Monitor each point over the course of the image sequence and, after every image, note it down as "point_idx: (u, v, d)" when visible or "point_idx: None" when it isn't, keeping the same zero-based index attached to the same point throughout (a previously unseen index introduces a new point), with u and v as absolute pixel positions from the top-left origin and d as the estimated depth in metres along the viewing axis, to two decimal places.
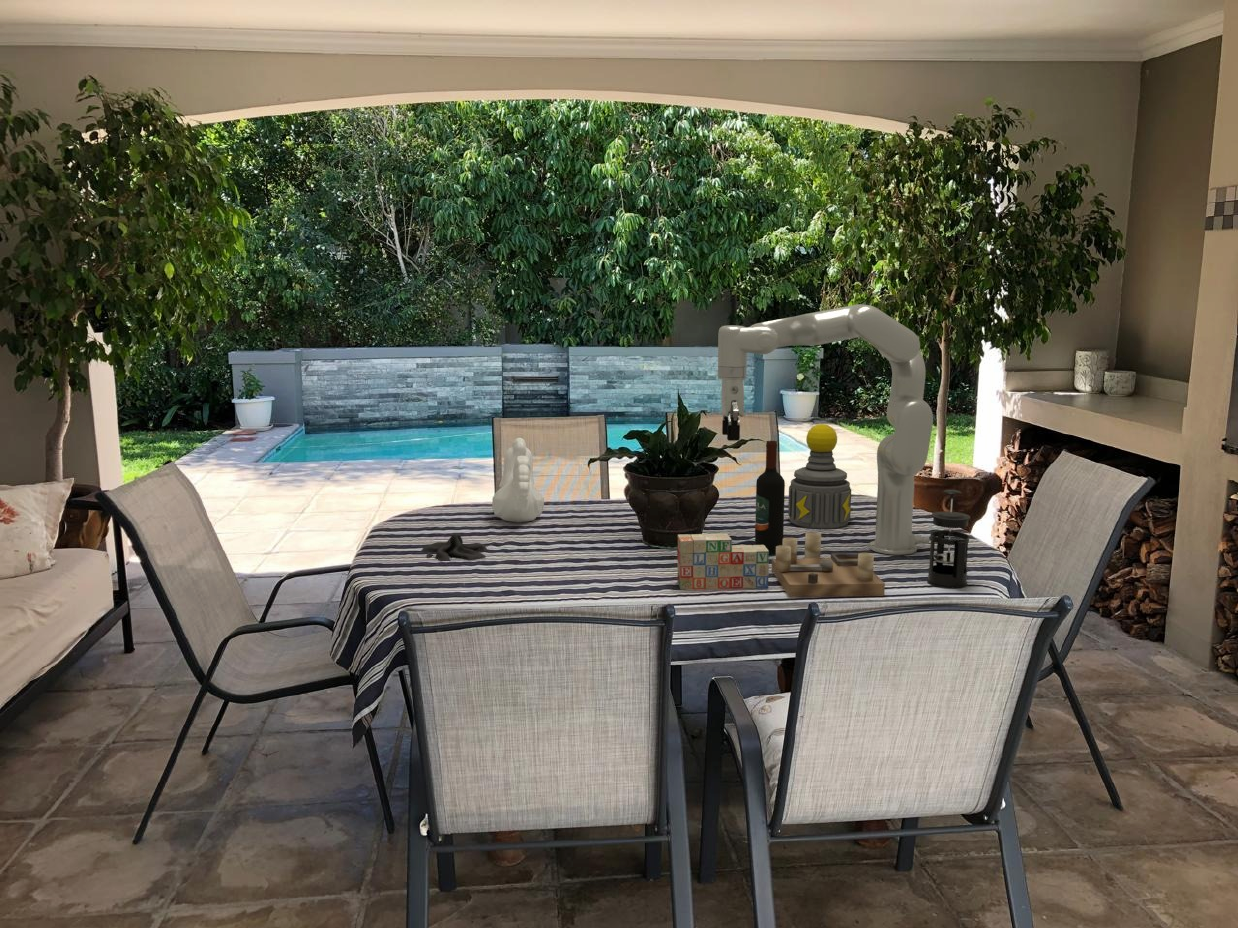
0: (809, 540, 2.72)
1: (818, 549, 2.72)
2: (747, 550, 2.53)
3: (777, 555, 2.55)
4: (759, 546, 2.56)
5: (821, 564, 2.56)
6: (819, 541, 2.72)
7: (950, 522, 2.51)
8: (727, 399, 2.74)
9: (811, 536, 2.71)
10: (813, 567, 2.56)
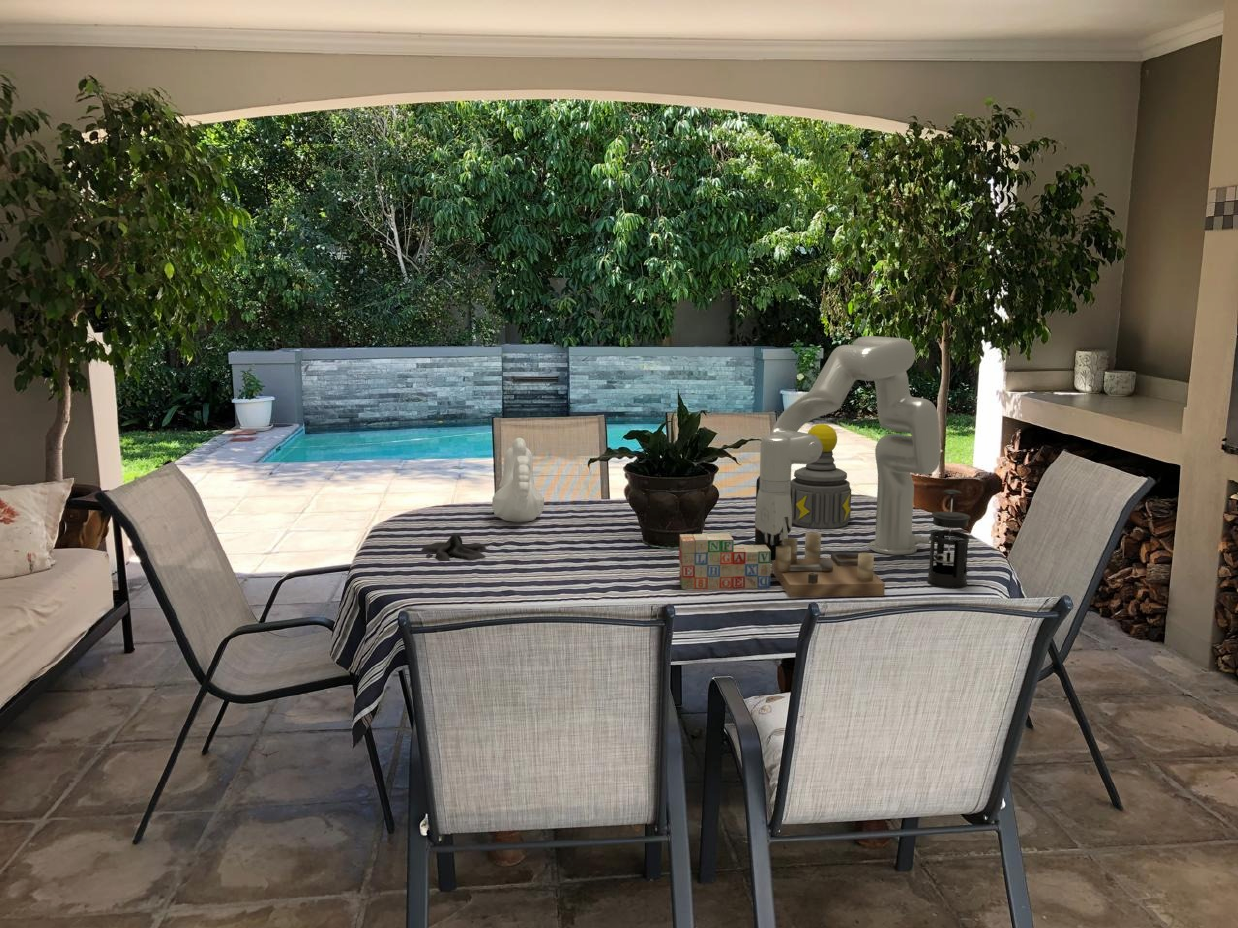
0: (809, 540, 2.72)
1: (818, 549, 2.72)
2: (749, 550, 2.53)
3: (777, 555, 2.55)
4: (761, 546, 2.56)
5: (821, 564, 2.56)
6: (819, 541, 2.72)
7: (950, 522, 2.51)
8: None
9: (811, 536, 2.71)
10: (813, 567, 2.56)
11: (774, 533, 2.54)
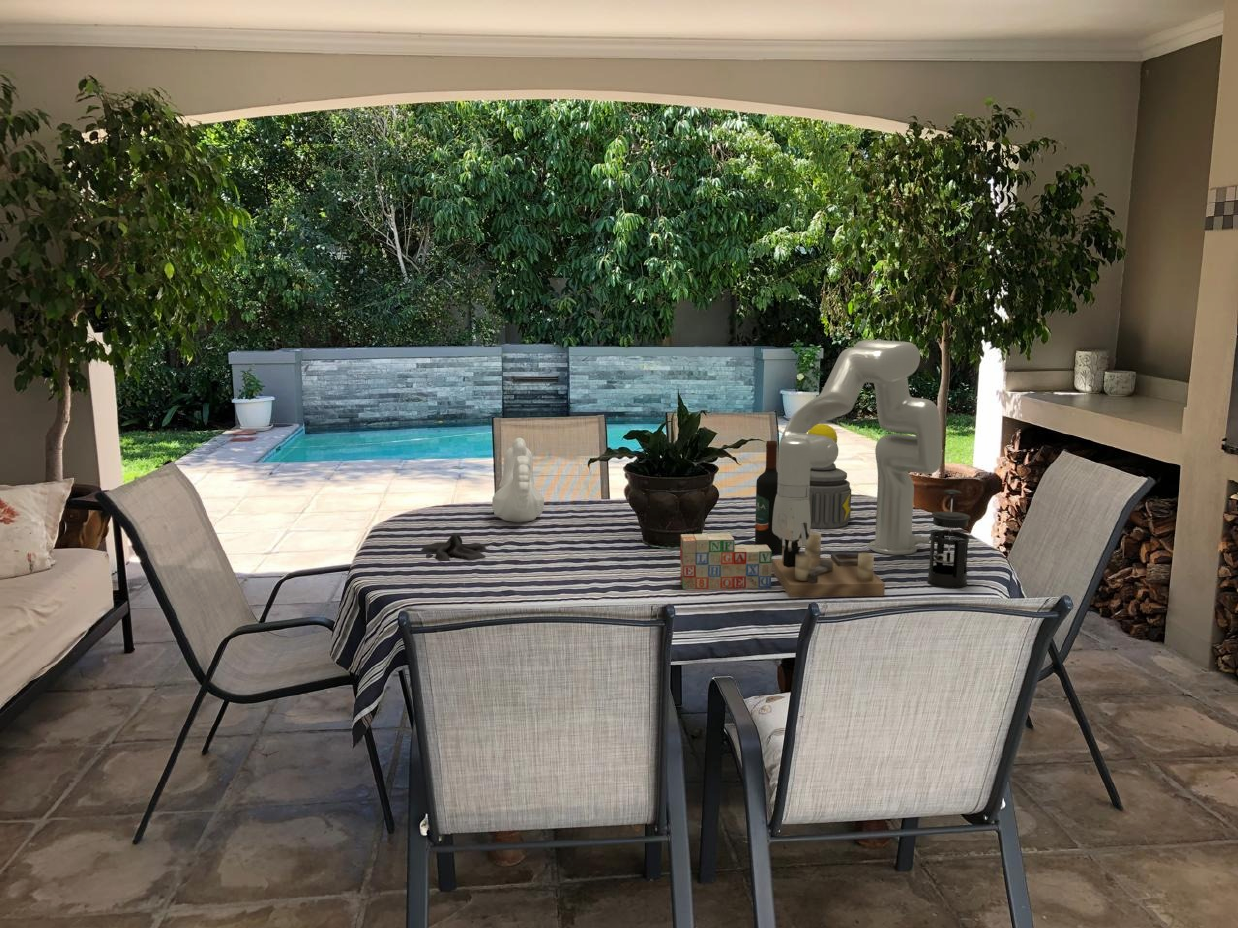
0: (809, 540, 2.72)
1: (818, 549, 2.72)
2: (750, 550, 2.53)
3: (802, 564, 2.47)
4: (762, 546, 2.56)
5: (826, 565, 2.55)
6: (819, 541, 2.72)
7: (950, 522, 2.51)
8: None
9: (811, 536, 2.71)
10: (822, 569, 2.54)
11: (792, 539, 2.46)
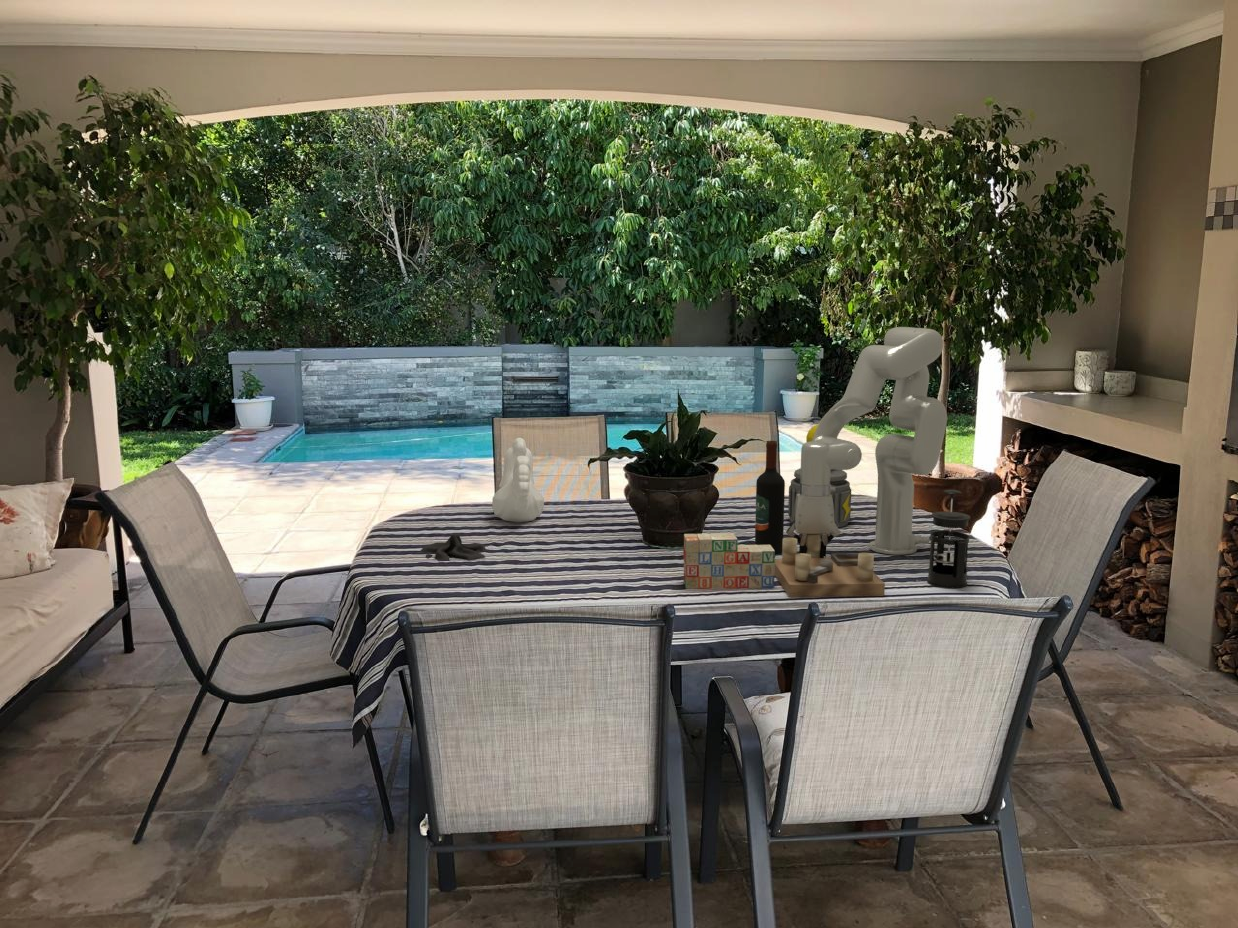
0: (809, 540, 2.72)
1: (818, 549, 2.72)
2: (753, 550, 2.53)
3: (802, 564, 2.47)
4: (765, 546, 2.56)
5: (826, 565, 2.55)
6: (819, 541, 2.72)
7: (950, 522, 2.51)
8: (833, 515, 2.71)
9: (811, 536, 2.71)
10: (822, 569, 2.54)
11: None
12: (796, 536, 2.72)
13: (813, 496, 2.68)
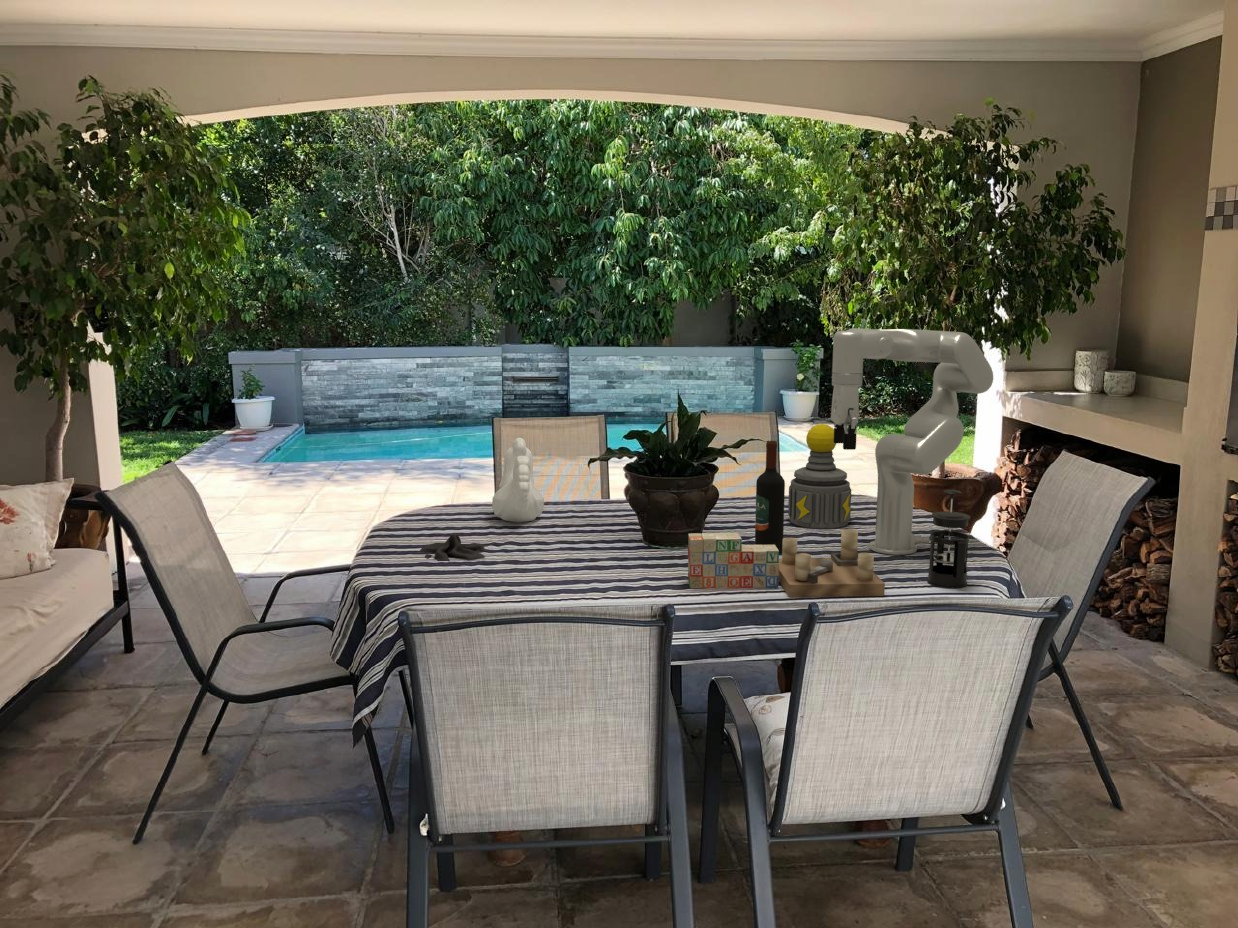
0: (845, 538, 2.62)
1: (855, 547, 2.63)
2: (757, 550, 2.53)
3: (802, 564, 2.47)
4: (770, 546, 2.57)
5: (826, 565, 2.55)
6: (856, 539, 2.63)
7: (950, 522, 2.51)
8: None
9: (848, 533, 2.62)
10: (822, 569, 2.54)
11: (839, 423, 2.67)
12: None
13: (861, 383, 2.68)
